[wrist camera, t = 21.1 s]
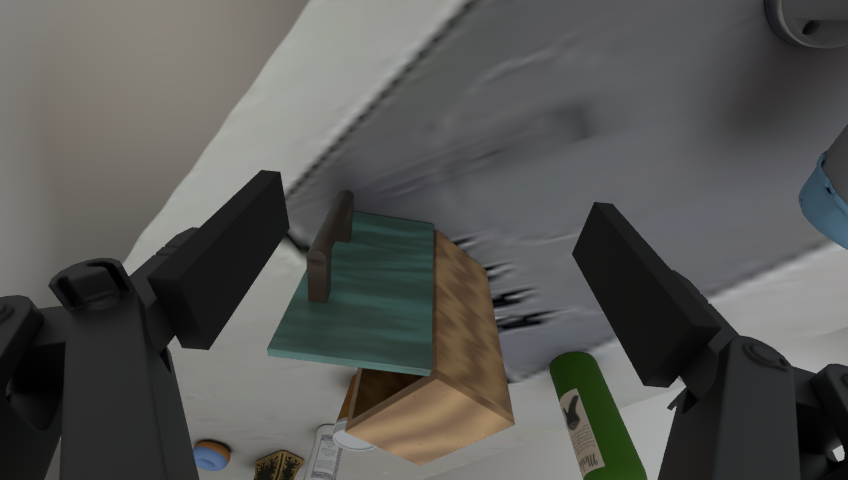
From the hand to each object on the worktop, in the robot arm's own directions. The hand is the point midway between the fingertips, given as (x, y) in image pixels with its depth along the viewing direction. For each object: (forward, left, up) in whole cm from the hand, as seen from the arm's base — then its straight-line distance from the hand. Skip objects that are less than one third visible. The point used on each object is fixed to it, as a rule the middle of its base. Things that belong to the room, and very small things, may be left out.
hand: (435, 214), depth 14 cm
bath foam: (+70, -47, -29) cm, 89 cm away
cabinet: (+27, -8, -29) cm, 40 cm away
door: (+12, -10, -29) cm, 33 cm away
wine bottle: (+57, +12, -29) cm, 65 cm away
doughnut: (+71, -83, -29) cm, 113 cm away
